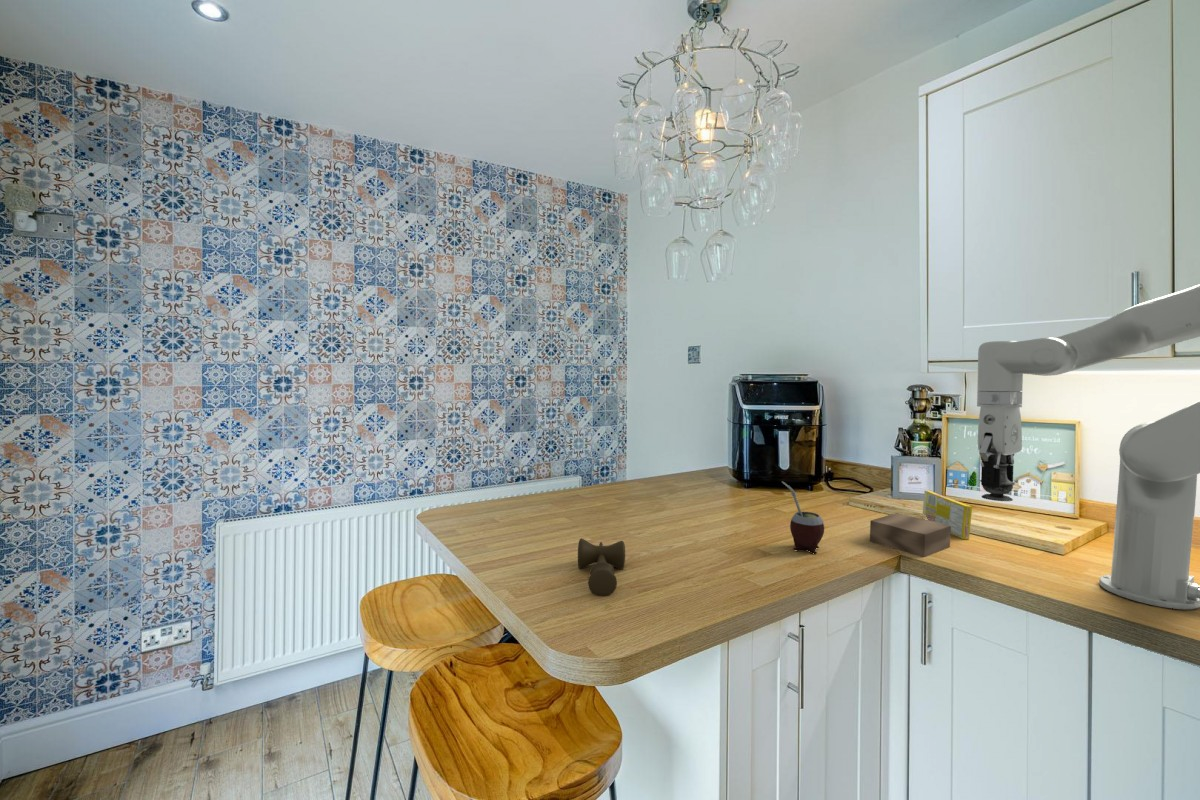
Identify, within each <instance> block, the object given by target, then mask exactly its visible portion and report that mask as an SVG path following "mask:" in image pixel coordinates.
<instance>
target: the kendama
mask: <svg viewBox="0 0 1200 800" xmlns="http://www.w3.org/2000/svg"><path fill="white" fill-rule="evenodd" d="M625 545H626V544H625V542H624V541H623V540H619V541H617V542H615V543H612V544H610V545H604V544H603V542H602V541H600V542H599V545H595V544H592V543H591V542H589V541H587V540H586V539H585V538H579V539H578V547H577V567H578V569H579V570H583V569H586V568H587V567H589V566H590V565H592V566H591V567H590V571H589V577H588V581H587V583H588V589H589V592H590V593H591V594H593V595H594V596H598V597H608V596H610V595H612V594H614V592H615V590H617V589H616V588H617V586H618V582H617V581H618V580H617V577H616V575H615V568H617V569H619V570H623V569H624V568H625V562H626V546H625ZM614 567H615V568H614Z"/></svg>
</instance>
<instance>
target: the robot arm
mask: <svg viewBox="0 0 1200 800" xmlns="http://www.w3.org/2000/svg"><path fill="white" fill-rule="evenodd" d="M1197 338H1200V284H1196V285H1194V286H1191V287H1188V288H1186V289H1183V290H1179V291H1176V292H1173V293H1169V294H1166V295H1163V296H1160V297H1157V298H1154V299H1151V300H1147V301H1145V302H1140V303H1139V304H1136V305H1133V306H1131V307H1129V308H1126V309H1124V310H1122V311H1120V312H1119V313H1117V314H1115V315H1114V316H1112V317H1110V318H1108V319H1106V320H1103V321H1100V322H1099V323H1096V324H1093V325H1091V326H1088V327H1085V328H1082V329H1079V330H1076V331H1073V332H1070V333H1069V332H1068V333H1066V334H1063V335H1061V336H1057V337H1040V338H1033V339H1032V338H1031V339H1027V340H999V341H998V340H996V341H987V342H986V341H985V342H983V343H981V344H980V345H979V347H978V352H977V357H978V358H977V385H976V386H977V387H976V389H977V391H976V407H980V408H979V417H978V426H977V449H978V451H979V452H978V453H979V456H980V460H981V463H980V466H981V474H980V475H981V477H980V480H981V482H980V484H981V486H982V485H983V486H988V487H995V488H999V487H1000V479H1001V469H1000V468H999V462H1000V456H1001V454H1002V455H1006V463H1007V464H1008V466H1007V468H1006V475H1007V478H1008V480H1009V481H1011V482H1014V464H1015V459H1014V456H1015V454H1018V453H1020V452H1021V451H1022V450H1023V436H1022V435H1023V434H1022V431H1023V430H1022V417H1021V410H1020V408H1023V383H1024V379H1023V378H1024V377H1023V375H1033V376H1034V375H1035V376H1043V377H1047V376H1050V377H1051V376H1057V375H1062V374H1066V373H1069V372H1073V371H1076V370H1079V369H1083V368H1087V367H1090V366H1094V365H1097V364H1102V363H1105V362H1109V361H1113V360H1115V359H1119V358H1122V357H1126V356H1130V355H1131V356H1132V355H1136V354H1142V353H1147V352H1150V351H1154V350H1156V349H1160V348H1161V349H1162V348H1164V347H1168V346H1172V345H1174V344H1175V345H1176V344H1179V343H1182V342H1184V341H1189V340H1192V339H1197ZM1118 450H1119V471H1118V473H1119V474H1118V483H1117V494H1116V495H1117V497H1116V505H1115V508H1116V509H1115V521H1114V533H1113V534H1114V535H1113V544H1112V545H1113V549H1112V562H1111V574H1103V575H1100V577H1099V580H1098V581H1099V582H1098V583H1099V585H1100V586H1101V588H1103V589H1104V590H1107V591H1108V592H1109V593H1112V594H1114V595H1117V596H1119V597H1123V598H1124V599H1127V600H1132V601H1134V602H1137V603H1141V604H1146V605H1151V606H1154V607H1155V606H1156V607H1160V608H1167V609H1172V608H1173V610H1174V609H1175V610H1196V609H1199V608H1200V585H1199V583H1197V582H1195V575H1190V566H1191V565H1190V563H1191V554H1192V553H1191V551H1192V541H1193V530H1194V529H1193V528H1194V517H1195V511H1196V497H1197V485H1198V483H1197V481H1198V475H1199V474H1200V400H1198V401H1196V402H1194V403H1192V404H1190V405H1187V406H1185V407H1184V408H1182V409H1180V410H1177V411H1175V412H1173V413H1170V414H1168V415H1166V416H1164V417H1162V418H1160V419H1158V420H1156V421H1148V422H1143V423H1140V424H1137V425H1135V426H1133V427H1132V428H1130V429H1129V430H1128V431H1127V432H1126V433H1125V434H1124V435H1123V436H1122V439H1121V440H1120V445H1119V449H1118ZM990 451H996V452H997V453H991V452H990ZM993 457H995V460H994V459H993ZM983 486H982V487H983Z"/></svg>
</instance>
